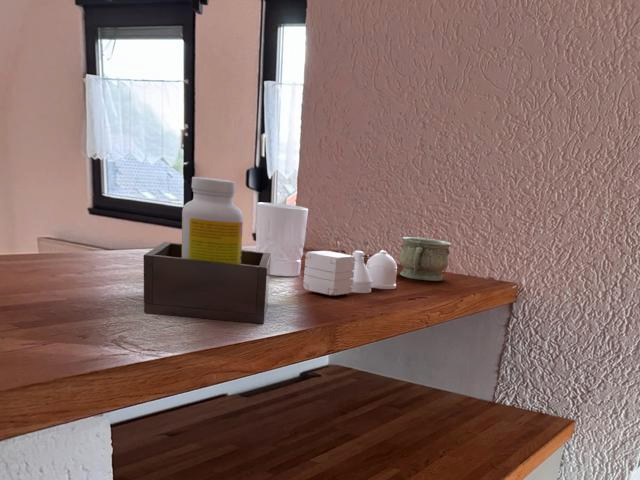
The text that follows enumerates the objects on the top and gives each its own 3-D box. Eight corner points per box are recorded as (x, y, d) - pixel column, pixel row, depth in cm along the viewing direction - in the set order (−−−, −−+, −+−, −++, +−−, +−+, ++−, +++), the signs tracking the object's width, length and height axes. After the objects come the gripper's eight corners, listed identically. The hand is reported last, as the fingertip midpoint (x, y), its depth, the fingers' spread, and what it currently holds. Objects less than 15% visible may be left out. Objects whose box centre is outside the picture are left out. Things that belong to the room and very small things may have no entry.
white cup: (243, 271, 113) (246, 202, 109) (267, 267, 119) (271, 202, 115) (289, 279, 110) (294, 209, 106) (311, 274, 117) (316, 208, 113)
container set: (333, 299, 99) (337, 257, 97) (301, 291, 101) (305, 251, 99) (401, 287, 115) (406, 251, 113) (373, 281, 117) (377, 246, 115)
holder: (143, 312, 78) (143, 254, 76) (163, 292, 90) (164, 241, 88) (263, 324, 80) (267, 267, 77) (268, 302, 91) (271, 253, 89)
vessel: (438, 284, 123) (443, 245, 121) (388, 276, 125) (393, 238, 123) (452, 277, 134) (457, 241, 131) (406, 270, 136) (410, 234, 133)
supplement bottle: (249, 304, 84) (255, 184, 79) (194, 304, 80) (197, 179, 75) (224, 292, 89) (228, 179, 84) (172, 292, 85) (173, 173, 80)
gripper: (243, -166, 77) (235, 23, 84) (72, -195, 75) (79, 0, 82) (237, -197, 70) (230, 11, 77) (50, -230, 68) (59, -14, 75)
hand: (152, 5), depth 79 cm, fingers open, 9 cm apart
